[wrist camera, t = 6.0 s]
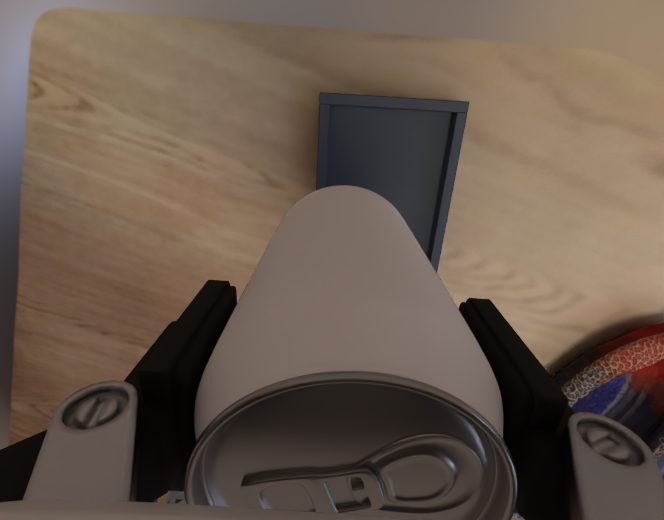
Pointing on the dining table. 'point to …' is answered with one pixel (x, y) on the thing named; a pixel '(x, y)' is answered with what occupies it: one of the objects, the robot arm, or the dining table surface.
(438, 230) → the tray
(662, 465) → the water jug
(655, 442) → the dish
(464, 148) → the dining table surface
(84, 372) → the dining table surface
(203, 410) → the can
